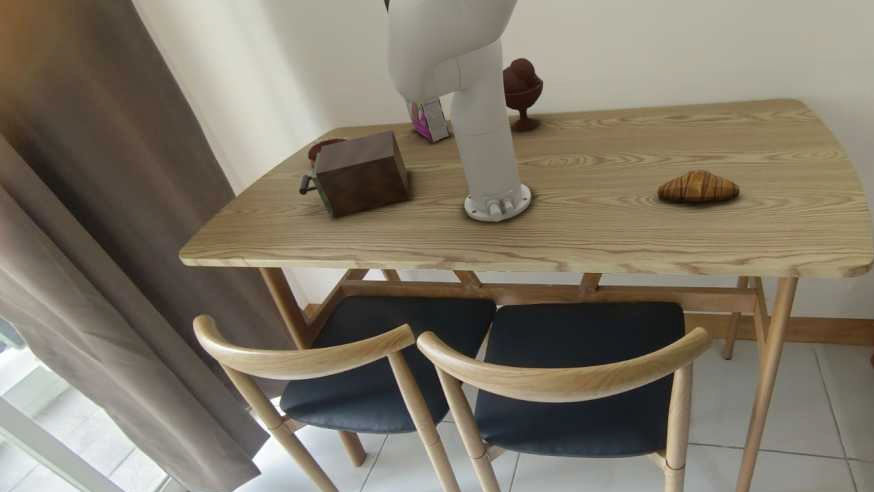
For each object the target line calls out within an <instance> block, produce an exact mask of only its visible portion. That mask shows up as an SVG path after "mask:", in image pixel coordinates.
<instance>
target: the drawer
mask: <svg viewBox="0 0 874 492" xmlns="http://www.w3.org/2000/svg"><path fill="white" fill-rule="evenodd" d="M319 156H320V153H317V157H316V161H315V166H314V165H313V170H312V175H308V174H304V175H302V177H301V182H300V186H299V190H298V192H299V194H301V196H305V195H307V194H308V192H312V191H317V193H318V195H319V197H320V198H321V199H320V200H321V201H322V203H323V206H324V207H325V209H326V211H327V213H328V214H332V213H333V214H334V211H333V209H332V207H331V205H330V203H329V201H328V199H327V197H326V195H325V192H324V190H323V188H322V186H321V184H320V182H319V180H318V177H317V176H316V170H317V165H318V161H319ZM310 181H312V183H313V185H312V186H310Z"/></svg>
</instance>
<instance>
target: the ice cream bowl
mask: <svg viewBox="0 0 874 492" xmlns="http://www.w3.org/2000/svg"><path fill="white" fill-rule="evenodd" d="M503 86H504V94H505V101H506V107H507V109H511V110H514V111H518V113H519V119H518V120H517V121H516V122H515V123H514V125H513V129H514V130H515V131H520V132H523V131H529V130H532V129H534V128H536V127H537V126H538V123H537V121H536V120H535V119H534V118H531V117H528V109H530V108H532V106H534V105H535V104H536V103H537V101H538V100H539V98H540V97H541V96H542V93H543V89H544V81H543V80H542V78H540V77H539V76H538V75H537V73H536V70H535V66H534V65H533V63H532V62H531V61H530V60H528V59H527V58H526V57H520V58H516V59H514V60H512V61H511V62H510V64H509V66H507V67H505V68H503Z"/></svg>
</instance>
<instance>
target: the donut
mask: <svg viewBox="0 0 874 492" xmlns="http://www.w3.org/2000/svg"><path fill="white" fill-rule="evenodd" d="M343 141H347V139H346V138H336V137H335V138H332V139H331V138H330V139H327V140H321V141H319V142H318V143H315V144H314V145H313V146H311V147H310V149H309V150H308V153H307V158H308V160H310V164H311V165H312V166H313V167H314V166H315V161H316V157H317V153H320V152H321V147H322V146H325V145H330V144H334V143H338V142H343Z"/></svg>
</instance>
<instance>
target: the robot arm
mask: <svg viewBox="0 0 874 492" xmlns="http://www.w3.org/2000/svg"><path fill="white" fill-rule="evenodd" d="M518 1H519V0H390V2H389V9H388V12H387V26H386V27H387V28H386V49H385V51H386V65H387V69H388V73H389V77H390V80H391V82H392V84H393V86H394V88H395V90H396V91H397V93H398V94H399V95H400V96H401V97H402V98H403V99H404V98H405V99H406V100H408V101H410V102H414V103H421V102H426V101H429V100H432V99H435V98H438V97H439V98H441V97H443V96H446V95H449V94H452V93H453V96H452V99H451V100H452V101H451V103H450V113H449V114H450V115H449V116H450V117H449V118H450V123H451V127H452V132H453V136H454V140H455V143H456V146H457V150H458V154H459V158H460V162H461V166H462V170H463V173H464V178H465V181H466V185H467V189H468V192H469V194H468V195H467V196H466V198H465V200H464V203H463V206H464V210H465V212H466V214H467V215H468V216H469V217H470V218H471V219H474V220H476V221H480V222H495V223H498V222H499V223H500V221H504V220H507V219H511V218H513V217H516V216H517V215H519V214H521V213H522V212H525V210H526V209H527V208H529V205H530V204H531V202H532V193H531V190H530V188H529V187H528V186H526V185H525V184H524V183H521V179H520V174H519V169H518V163H517V157H516V152H515V147H514V142H513V135H512V131H511V126H510V120H509V114H508V113H509V112H508V107H507V106H506V101H505V94H504V86H503V70H504V65H503V63H504V59H503V58H504V55H503V53H504V52H503V45H502V40H501V37H502V36H503V34H504V33H505V31H506V28H507V26H508V25H509V22H510V20H511V18H512V16H513V13H514V10H515V8H516V6H517V4H518ZM405 99H404V100H405Z"/></svg>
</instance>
